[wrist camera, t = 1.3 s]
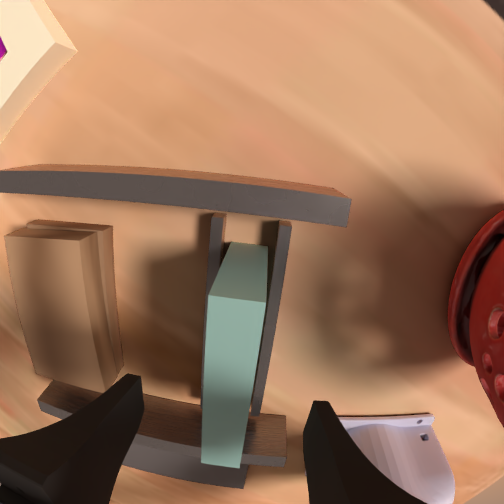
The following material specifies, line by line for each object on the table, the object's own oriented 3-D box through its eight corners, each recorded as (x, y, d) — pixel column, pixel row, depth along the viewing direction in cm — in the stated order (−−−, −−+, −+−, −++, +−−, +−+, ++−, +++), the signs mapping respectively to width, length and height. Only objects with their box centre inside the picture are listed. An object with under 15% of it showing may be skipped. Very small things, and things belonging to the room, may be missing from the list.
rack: (333, 188, 17) (351, 198, 13) (282, 426, 22) (283, 467, 18) (38, 164, 17) (-3, 170, 13) (64, 381, 22) (41, 410, 18)
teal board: (268, 245, 18) (266, 302, 11) (248, 387, 21) (239, 468, 14) (231, 241, 18) (208, 295, 11) (218, 383, 21) (201, 462, 14)
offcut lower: (117, 223, 19) (102, 231, 17) (127, 358, 22) (117, 374, 20) (44, 217, 19) (26, 223, 17) (61, 342, 22) (49, 355, 20)
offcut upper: (97, 231, 17) (79, 240, 15) (117, 376, 20) (106, 393, 18) (23, 228, 17) (4, 235, 15) (49, 359, 20) (36, 373, 18)
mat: (253, 435, 22) (253, 440, 22) (243, 484, 25) (243, 488, 24) (86, 399, 22) (83, 404, 22) (103, 453, 25) (101, 457, 24)
